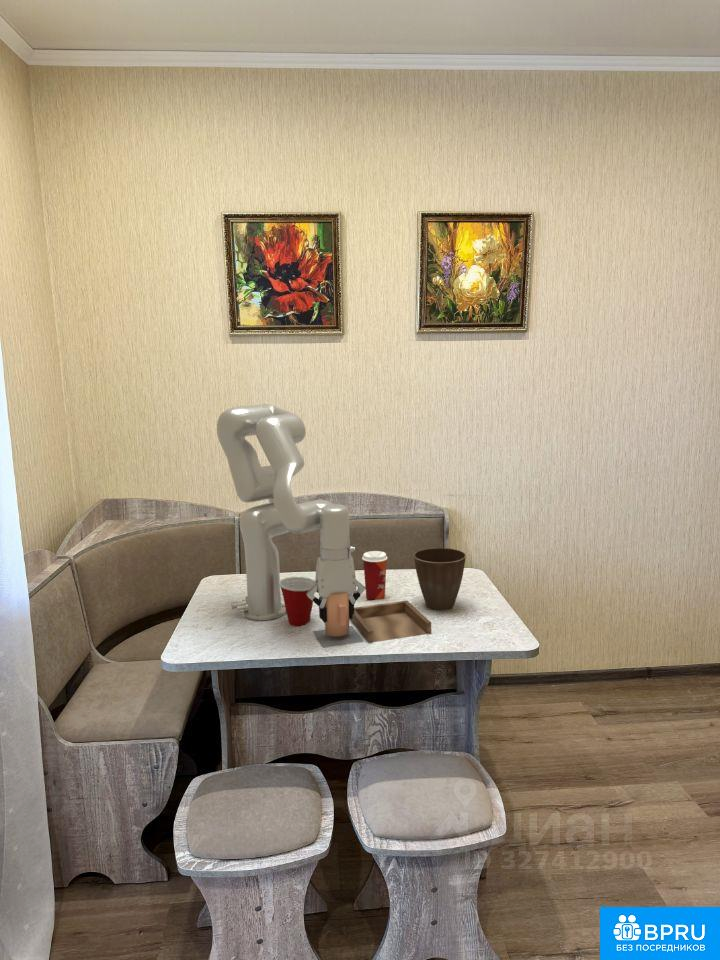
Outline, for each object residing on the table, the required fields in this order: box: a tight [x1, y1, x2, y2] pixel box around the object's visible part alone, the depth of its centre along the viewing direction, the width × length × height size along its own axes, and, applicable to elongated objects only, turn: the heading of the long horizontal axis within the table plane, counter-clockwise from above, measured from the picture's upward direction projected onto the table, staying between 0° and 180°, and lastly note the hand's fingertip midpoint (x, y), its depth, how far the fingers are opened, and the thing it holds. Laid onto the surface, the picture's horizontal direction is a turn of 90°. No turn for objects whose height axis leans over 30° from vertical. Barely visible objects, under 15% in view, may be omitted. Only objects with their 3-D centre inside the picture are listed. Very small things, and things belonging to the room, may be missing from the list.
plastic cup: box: [279, 576, 315, 627], centre depth 189 cm, size 11×11×12 cm
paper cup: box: [361, 550, 388, 602], centre depth 207 cm, size 8×8×14 cm
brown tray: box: [349, 600, 432, 644], centre depth 185 cm, size 17×17×4 cm
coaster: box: [312, 625, 365, 649], centre depth 179 cm, size 11×11×1 cm
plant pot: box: [413, 547, 467, 612], centre depth 198 cm, size 15×15×16 cm
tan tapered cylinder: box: [324, 593, 350, 636], centre depth 176 cm, size 9×6×11 cm
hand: (336, 618), depth 178 cm, fingers closed on tan tapered cylinder, 6 cm apart
